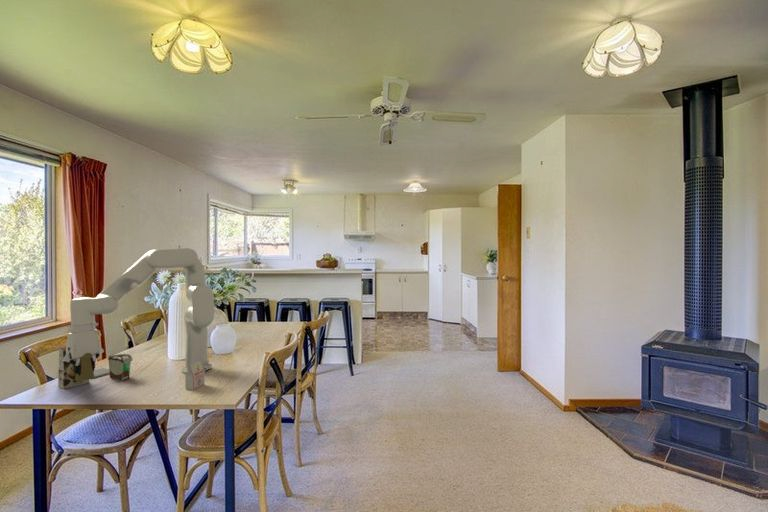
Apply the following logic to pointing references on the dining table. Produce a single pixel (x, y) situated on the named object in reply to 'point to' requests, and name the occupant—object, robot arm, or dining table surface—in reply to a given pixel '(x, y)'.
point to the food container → (119, 366)
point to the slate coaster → (100, 372)
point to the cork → (85, 368)
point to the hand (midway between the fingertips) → (84, 372)
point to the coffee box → (67, 372)
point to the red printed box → (194, 376)
